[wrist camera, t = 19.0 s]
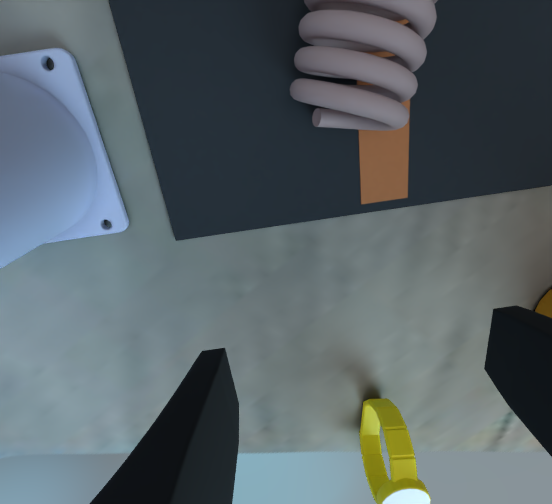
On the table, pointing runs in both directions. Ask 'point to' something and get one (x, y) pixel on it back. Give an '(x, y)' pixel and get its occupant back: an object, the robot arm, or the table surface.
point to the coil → (362, 60)
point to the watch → (404, 483)
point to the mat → (298, 116)
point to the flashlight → (545, 305)
